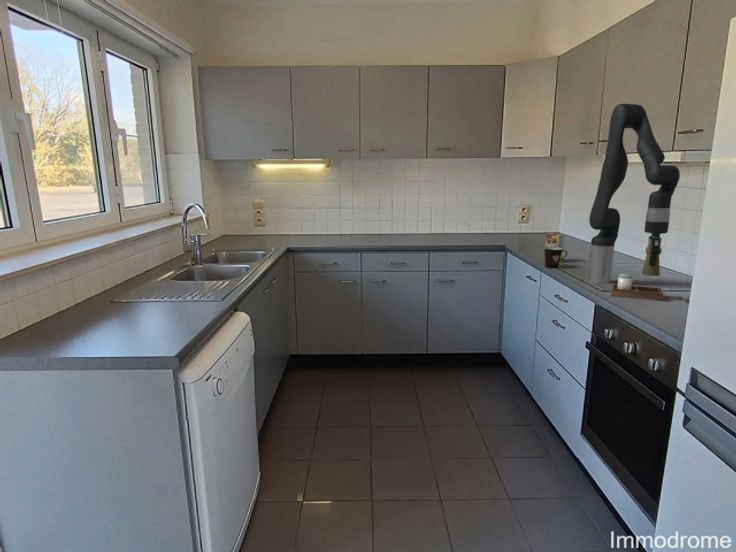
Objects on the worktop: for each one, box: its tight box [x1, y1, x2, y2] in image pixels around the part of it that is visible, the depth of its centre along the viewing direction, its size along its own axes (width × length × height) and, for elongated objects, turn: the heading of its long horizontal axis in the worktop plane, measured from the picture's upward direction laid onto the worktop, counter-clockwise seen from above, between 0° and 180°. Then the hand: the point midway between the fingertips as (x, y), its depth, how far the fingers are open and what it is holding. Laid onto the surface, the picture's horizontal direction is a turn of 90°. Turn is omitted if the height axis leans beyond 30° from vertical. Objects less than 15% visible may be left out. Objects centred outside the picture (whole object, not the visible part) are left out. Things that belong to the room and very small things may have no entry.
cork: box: [641, 245, 662, 277], centre depth 175 cm, size 6×6×11 cm
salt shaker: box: [617, 272, 633, 290], centre depth 181 cm, size 5×5×8 cm
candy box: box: [544, 232, 565, 263], centre depth 253 cm, size 9×4×15 cm, turn 26°
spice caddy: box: [610, 283, 665, 302], centre depth 180 cm, size 9×17×4 cm, turn 64°
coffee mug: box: [543, 247, 568, 269], centre depth 238 cm, size 12×9×10 cm
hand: (651, 264), depth 175 cm, fingers closed on cork, 4 cm apart
